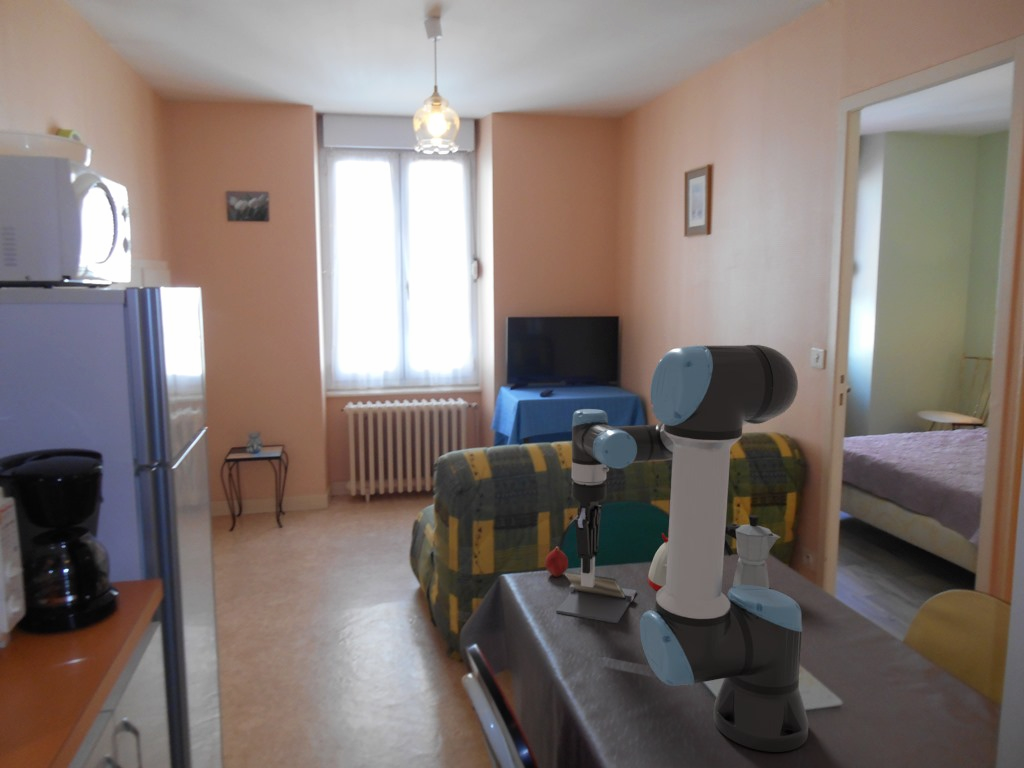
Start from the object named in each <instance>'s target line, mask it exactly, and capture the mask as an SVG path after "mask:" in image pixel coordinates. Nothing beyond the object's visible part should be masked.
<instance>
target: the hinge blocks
mask: <svg viewBox="0 0 1024 768" xmlns="http://www.w3.org/2000/svg"><path fill="white" fill-rule="evenodd" d="M568 588H569V589H568V591H569V593H571V592H572V593H574V592H575V591H576V590H577V589H576V588H575V587H574V586H573V584H572V583H571V584H570V585H569V587H568ZM634 598H635V596H634V592H628V594H627V595H626V601H627V602H630V603H632V602H633V600H634Z"/></svg>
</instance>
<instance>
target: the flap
mask: <svg viewBox="0 0 1024 768" xmlns="http://www.w3.org/2000/svg"><path fill="white" fill-rule="evenodd" d="M564 575H565V576H566V578H567V580H568V581H569V582H570V583H571V584H573V586H574V587H575V588H576V589H577V591H579V592H585V593H591V594H598V595H604V596H610V597H616V598H622V599H626V595H625V594H624V592H623V591H622V589H621V588H622V587H621V586H620V584H619V583H618V581H617V580H616V578H613V577H607V576H606V577H605V576H599V575H595V585H594V586H593V587H587V586H581V572H580V573H579V572H573V571H568V570H566V571H565V572H564Z"/></svg>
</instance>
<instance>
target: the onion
mask: <svg viewBox="0 0 1024 768" xmlns="http://www.w3.org/2000/svg"><path fill="white" fill-rule="evenodd" d="M544 562H545V569H546V570H547V572H549V573H550V575H552V576H553V577H556V578H559V577H560V576H562V575H564V574H565V572H566V571H568V567H569V559H568V556H567V555H566V554H565V553H564V551H562V550H561V549H560V547H559V546H556V547H554V549H553V550H551V551H549V553H548V554H547V556H546V557H545V561H544Z"/></svg>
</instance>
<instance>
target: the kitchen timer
mask: <svg viewBox="0 0 1024 768" xmlns="http://www.w3.org/2000/svg"><path fill="white" fill-rule="evenodd" d="M667 535H668V536H669V528H668V529H667ZM661 536H662V539H663V541H664V542H663V543H662V544H661V545H660V546H659V548H658V549H657V551H656V552H655V554H654V556H653V559H652V562H651V564H650V567H649V571H648V574H647V575H648V579H647V580H648V581H647V582H648V584H649V586H650V587H651V588H652V589H654V590H655V591H656V592H658V590H660V589H661V588H662V587H664V586H665V585H666V576H667V556H668V537H667V536H665V534H664V532H662V533H661Z"/></svg>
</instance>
